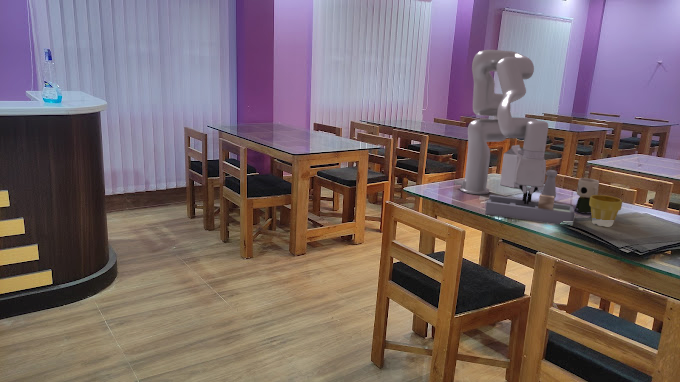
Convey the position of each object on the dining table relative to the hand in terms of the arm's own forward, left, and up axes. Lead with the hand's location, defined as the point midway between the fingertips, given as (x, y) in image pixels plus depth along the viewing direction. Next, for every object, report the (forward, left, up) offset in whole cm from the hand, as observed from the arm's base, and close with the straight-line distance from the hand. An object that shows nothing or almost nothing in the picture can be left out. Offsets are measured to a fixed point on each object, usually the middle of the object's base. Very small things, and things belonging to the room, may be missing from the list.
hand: (526, 203), depth 188 cm
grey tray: (+1, 0, -5) cm, 5 cm away
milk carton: (-8, +49, -5) cm, 50 cm away
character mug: (+21, +16, -5) cm, 27 cm away
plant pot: (+26, +2, -5) cm, 27 cm away
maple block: (+7, 0, -2) cm, 7 cm away
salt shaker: (+8, +28, -5) cm, 30 cm away
